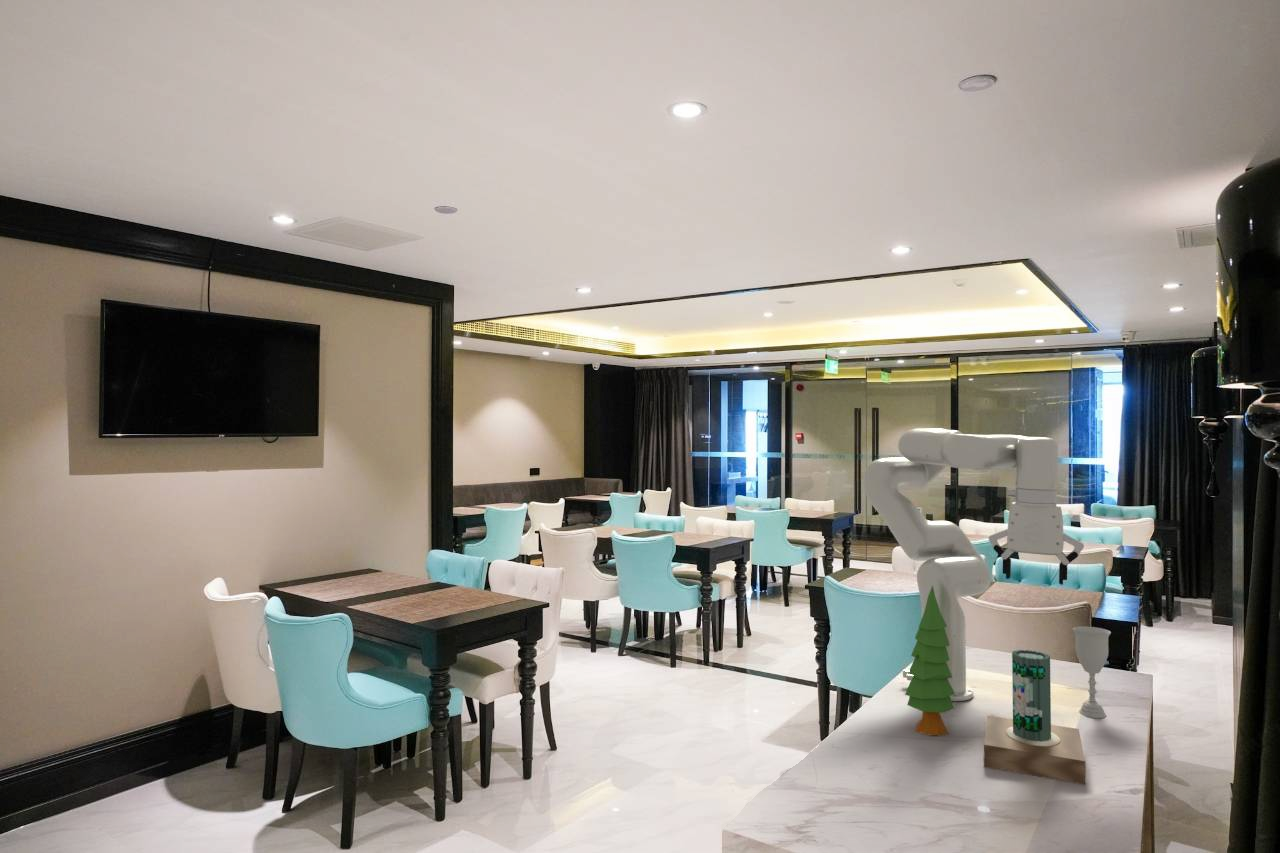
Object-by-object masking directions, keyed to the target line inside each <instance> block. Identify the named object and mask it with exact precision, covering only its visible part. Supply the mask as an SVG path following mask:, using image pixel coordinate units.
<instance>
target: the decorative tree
mask: <svg viewBox="0 0 1280 853" xmlns="http://www.w3.org/2000/svg"><path fill="white" fill-rule="evenodd" d="M945 627H947V625H946V623H945V621H944V619H943V617H942V615H941V612H940V610H939V607H938V604H937V601H936V598H935V593H934V589H933V585H932V588H931V590H930V593H929V596H928V599H927V603H926V607H925V612H924V614H923V617H922V616H921V620H920V622H919V625H918V630H917V631H916V634H915V637H914V639H915V640H916V643H915V646H914V648H913V650H912V653H911V655H910V656H911V657H913V658H914V659H913V662H912V664H911V666H910V668H909V670H910V671H909V673H910V674H912V675H913V677H912V680H911V681H910V682H909V684H908V687H907V689H906V692H905V693H904V695H905V696H908V697H909V698H908V701H907V704H906V705H907V706H909V707H911V708H913V709H916V710H919V711H921V712H922V715H921V719H920V720H919V721H918V723H917V724H916V727H917V728H915V732H917V731H918V733H920V732H921V733H920V734H922V733H924V734H923V735H925V734H930V735H929V736H932V735H937V736H936V737H939V736H938V735H940V736H942V734H943V735H945V733H946V734H949V731H948V729H947V726H946V725H945V722H944V721H943V719H942V716H941V714H943V713H944V714H945V713H947V712H949V711H952V710H953V709H955V706H954V704H953V701H951V698H950V695H953V694H955V692H954V690H953V689H952V687H951V685H950V683H949V681H948V679H947V678H952V674H951V672H950V670H949V668H948V665H947V663H946V661H949V656H948V653H947V649H946V646H950V644H949V641H948V638H947V634H946V631H945Z"/></svg>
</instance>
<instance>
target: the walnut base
mask: <svg viewBox="0 0 1280 853" xmlns="http://www.w3.org/2000/svg"><path fill="white" fill-rule="evenodd" d="M984 731H985V733H984V741H983V763H984V764H983V767H986V768H991V769H995V770H1003V771H1007V772H1013V773H1019V774H1024V775H1030V776H1036V777H1042V778H1047V779H1053V780H1059V781H1065V782H1071V783H1075V784H1081V785H1086V784H1087V782H1086V779H1087V778H1086V777H1087V776H1086V773H1087V772H1086V758H1085V752H1084V748H1083V743H1082V738H1081V733H1080V729H1079V728H1074V727H1069V726H1062V725H1055V724H1051V739H1049V740H1048V741H1042V742H1040V741H1031V740H1027V739H1022V738H1020V737H1018V736H1016V735H1015V734H1014V733H1013V718H1009V717H1008V718H1007V717H1000V716H994V715H988V714H987V715H986V723H985V730H984Z"/></svg>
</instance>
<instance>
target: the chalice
mask: <svg viewBox="0 0 1280 853" xmlns="http://www.w3.org/2000/svg"><path fill="white" fill-rule="evenodd" d="M1072 631H1073V633H1074V640H1075V642H1074V644H1075V648H1074V649H1075V650H1074V651H1075V654H1076V656H1077V659H1078V661H1079V663H1080V665H1081V667H1082V669H1083V671H1084V672H1085V673H1088V675H1089V679H1088V681H1087V683H1088V684H1089V687H1088V689H1087V692H1088V694H1089V698H1088V700H1085V701H1083V702H1082V705H1081V707H1080V709H1079V710H1078V712H1079V714H1081V715H1083V716H1086V717H1088V718H1089V717H1090V718H1095V719H1099V718H1100V719H1103V718H1106V717H1107V715H1106V714H1107V713H1106V712H1105V710H1104V707H1103V706H1102V704H1101V703H1100V702H1098V701H1097V700H1096V693H1098V691H1097V690H1096V685H1097V681H1096V678H1095V677H1096V674H1099V673H1101V671H1102V669H1103V667H1104V666H1105V664H1106V663H1107V659H1108V657H1109V637H1110V635H1111V633H1112V632H1111V631H1110V629H1109V630H1108V629H1105V628H1102V627H1095V626H1085V625H1084V626H1074V627H1072ZM1105 716H1106V717H1105Z"/></svg>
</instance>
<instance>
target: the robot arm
mask: <svg viewBox="0 0 1280 853" xmlns="http://www.w3.org/2000/svg"><path fill="white" fill-rule="evenodd" d="M897 449H898V451H899V453H900V455H901V456H902V457H882V458H878V459H875V460H873V461H871V462H870V463H868V465H867V466H866V467H865V469H864V471H863V472H864V473H863V488H864V491H865V494H866V495H865V496H866V497H867V500H868V502H870V504H871V505H872V507H873V508H874V509H875V510H876V512H877V513H878V515H880V517H881V518H882V519H883V520H884V522H885V524H886V525H887V527H888V529H889V531H890V532H891V534H892V535H893V537H894V538H895V540H896V541H897V543H898V545H899V547H900V548H901V549H902V550H903V553H904V554H905V555H906V556H907V557H908V558H909V559H911V560H913V561H917V562H918V561H919V562H920V561H921V562H922V561H923V562H922V564H920V566H919V567H918V569H917V572H916V582H917V588H918V593H919V597H920V599H919V600H920V608H921V618H922V617H923V614H924V612H925V607H926V603H927V599H928V596H929V593H930V590H931V588H932V585H933V589H934V593H935V598H936V601H937V604H938V607H939V610H940V612H941V615H942V617H943V619H944V621H945V623H946V625H947V627H945V631H946V634H947V638H948V641H949V644H950V646H946V649H947V653H948V656H949V661H946V663H947V665H948V668H949V670H950V672H951V674H952V678H947V679H948V681H949V683H950V685H951V687H952V689H953V690H954V692H955V694H953V695H950V698H951V701H952V702H963V701H968V700H971V699H972V698H973V697H974V690H973V688H972V687H970V686H968V685H967V668H966V667H967V666H966V665H967V662H966V661H967V660H966V657H967V654H966V650H967V648H966V646H967V645H966V643H967V642H966V641H967V640H966V638H967V637H966V617H965V613H964V610H963V608H962V606H961V604H960V602H959V600H958V598H963V597H964V598H965V597H974V596H978V595H982V594H983V593H985V592H986V591H988V590H989V587H990V586H991V579H992V577H991V576H992V575H991V572H990V569H989V566H988V565H987V563H986V561H985V559H983V557H982V555H981V554H980V553H979V551H978V550H977V548H976V547H975V546H974V544H973V543H972V542H971V540H970V538H968V536H967V535H966V534H965V532H964V531H963V530H962V528H960V527H959V526H958V525H957V524H956V523H954V522H952V521H948V520H928V519H927V518H925V517H924V515H923V514H922V513H921V512H920V510H919V509H918V507H917V506H916V504H915V503H914V502H913V501H911V500H910V499H909V498H908V497H906V496H905V495H903V494H902V493H901V492H900V491H917V490H922V489H924V488H926V487H928V486H929V485H931V483H933V482H934V481H935V480H936V478H938V476H939V475H940V474H941V473H942V472H943V471H944V470H945V469H946V468H947V467H951V468H955V469H964V470H972V471H982V472H983V471H988V472H989V471H1015V488H1014V489H1011V490H1007V497H1008V498H1009V497H1010V498H1013V499H1014V500H1015V501H1013V502H1011V503H1010V506H1009V510H1008V511H1009V512H1008V518H1007V519H1008V521H1007V529H1004V530H1001V531H998V532H995V533H993V534H990V535H989V537H988V541H989V542H990V544H991V546H992V548H993V550H994V552H996V553H997V554H998V555H999V556H1000V557H1001V559H1002V574H1004V575H1005V579H1007V580H1009V579H1011V576H1012V574H1011V573H1012V571H1011V570H1012V568H1011V567H1012V559H1011V557H1010V556H1011V555H1012V554H1014V553H1021V554H1031V555H1032V554H1033V555H1044V556H1055V557H1056V558H1057V559H1058V560H1059V561H1060V562H1059V563H1058V564H1059V565H1058V568H1059V570H1058V584H1059V585H1062V586H1063V585H1064V581H1068V565H1069V564H1070V563H1072V562H1073V561H1074V560H1076V559H1077V558H1078V556H1079V555H1080V554H1081V552H1082V550H1083V549H1084V547H1085V545H1084V543H1083V542H1082V541H1080V540H1078V539H1076V538H1074V537H1072V536H1070V535H1068V534H1066V533H1065V532H1064V519H1063V511H1062V506H1061V505H1060V504H1058V503H1057V501H1058V500H1057V499H1058V465H1059V464H1058V458H1059V457H1058V454H1059V453H1058V452H1059V450H1058V449H1059V446H1058V442H1057V441H1056V440H1055V439H1054V438H1051V437H1043V436H1042V437H1041V436H1024V435H1018V434H1017V435H1016V434H964V433H962V431H960V430H955V429H945V428H912V429H909V430H907V431H905V432H904V433H902V435H901V436H900V438H899V439H898V443H897ZM1003 538H1006V545H1007V548H1005V549H1004V548H1003V547H1002V546H1001V545H1000V543H999V541H998V540H1001V539H1003ZM1064 542H1065V543H1067V544H1069V545H1071V546H1073V547H1074V548H1073V550H1072V551H1070V553H1068V554H1065V553H1064V552H1063V551H1064ZM909 671H910V669H906V668H905V669H903V670H902V678H903V679H904V678H905V679H906V680H907V681H910V682H911V680H912V677H913V675H912V674H910V673H909Z"/></svg>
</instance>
